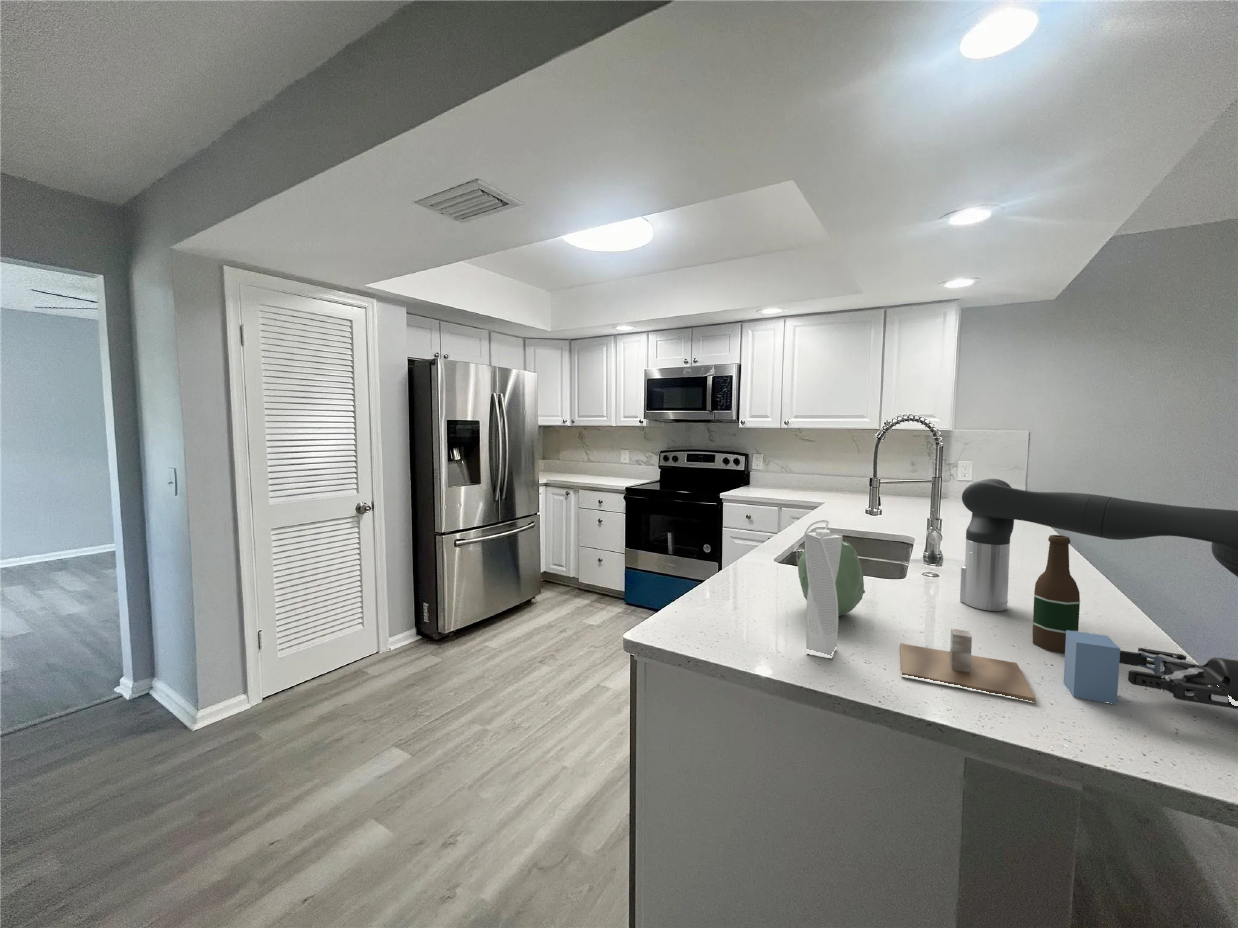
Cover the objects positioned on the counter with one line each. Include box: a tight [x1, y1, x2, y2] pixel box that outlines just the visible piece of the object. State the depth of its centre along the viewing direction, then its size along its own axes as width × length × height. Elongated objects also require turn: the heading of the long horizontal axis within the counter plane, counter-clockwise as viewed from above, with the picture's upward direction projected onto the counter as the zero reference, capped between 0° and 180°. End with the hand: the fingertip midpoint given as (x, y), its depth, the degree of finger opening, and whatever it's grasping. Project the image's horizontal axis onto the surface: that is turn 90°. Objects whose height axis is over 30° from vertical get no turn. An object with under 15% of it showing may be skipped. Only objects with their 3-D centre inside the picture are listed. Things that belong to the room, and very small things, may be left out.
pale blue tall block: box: [1063, 630, 1121, 705], centre depth 88 cm, size 6×6×10 cm
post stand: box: [899, 628, 1036, 703], centre depth 96 cm, size 20×14×8 cm
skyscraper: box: [804, 519, 843, 656], centre depth 105 cm, size 8×8×28 cm
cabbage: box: [797, 540, 866, 617], centre depth 126 cm, size 16×19×20 cm
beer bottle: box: [1032, 534, 1081, 654], centre depth 105 cm, size 8×8×24 cm
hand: (1118, 665), depth 86 cm, fingers open, 8 cm apart
